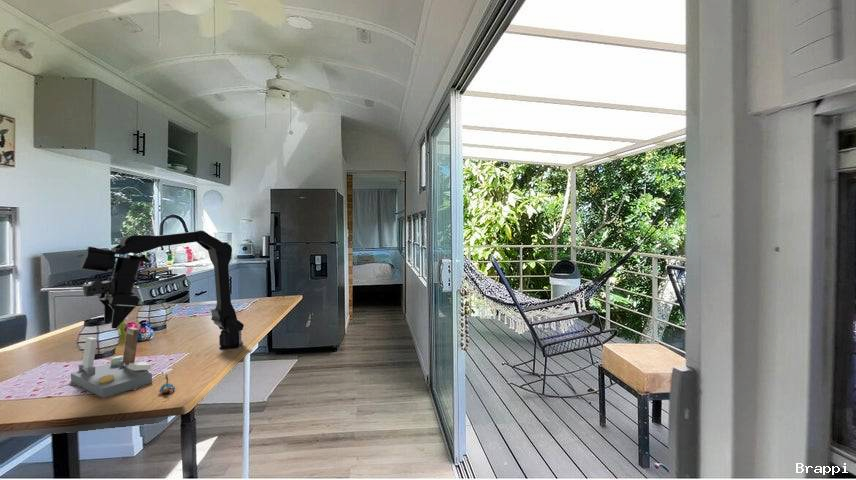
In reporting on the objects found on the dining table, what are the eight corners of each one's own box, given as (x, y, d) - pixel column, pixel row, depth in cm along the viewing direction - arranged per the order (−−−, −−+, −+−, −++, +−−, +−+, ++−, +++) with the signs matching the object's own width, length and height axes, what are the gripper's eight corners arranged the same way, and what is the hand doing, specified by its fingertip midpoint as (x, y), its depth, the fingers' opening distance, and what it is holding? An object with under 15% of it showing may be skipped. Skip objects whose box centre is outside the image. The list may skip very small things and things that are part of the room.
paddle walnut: (127, 362, 107) (132, 327, 108) (134, 365, 105) (139, 329, 106) (122, 363, 106) (127, 327, 107) (128, 366, 104) (133, 329, 105)
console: (118, 368, 112) (117, 354, 112) (152, 382, 101) (151, 366, 101) (71, 381, 102) (70, 366, 102) (102, 398, 92) (102, 381, 92)
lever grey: (87, 366, 104) (91, 337, 105) (92, 368, 102) (97, 339, 103) (81, 367, 103) (86, 337, 104) (87, 369, 101) (91, 339, 102)
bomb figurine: (190, 387, 99) (189, 368, 99) (170, 400, 91) (170, 380, 91) (161, 388, 99) (161, 369, 99) (139, 401, 91) (139, 380, 91)
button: (121, 361, 111) (121, 354, 111) (126, 363, 109) (126, 356, 109) (109, 365, 108) (108, 358, 108) (113, 366, 106) (113, 359, 106)
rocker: (143, 367, 104) (145, 362, 105) (150, 369, 103) (151, 364, 103) (127, 368, 101) (129, 363, 101) (134, 370, 99) (135, 365, 99)
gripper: (83, 268, 107) (67, 320, 105) (97, 272, 96) (79, 330, 93) (129, 274, 116) (115, 321, 113) (146, 278, 105) (131, 331, 102)
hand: (110, 325), depth 105 cm, fingers open, 9 cm apart
